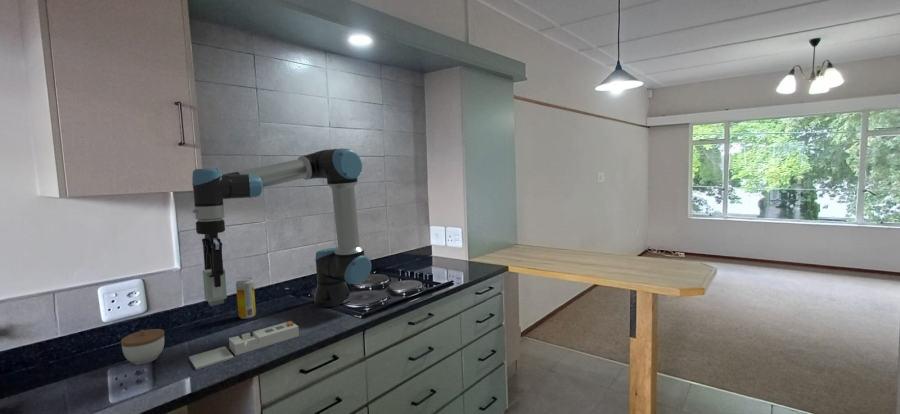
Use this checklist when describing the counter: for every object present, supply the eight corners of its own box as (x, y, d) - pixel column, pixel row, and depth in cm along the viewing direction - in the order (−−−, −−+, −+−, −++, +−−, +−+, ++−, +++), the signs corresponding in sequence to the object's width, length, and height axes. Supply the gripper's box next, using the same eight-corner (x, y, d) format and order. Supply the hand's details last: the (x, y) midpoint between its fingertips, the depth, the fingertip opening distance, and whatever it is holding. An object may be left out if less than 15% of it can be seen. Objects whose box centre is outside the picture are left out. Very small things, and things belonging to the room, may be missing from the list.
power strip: (291, 330, 145) (290, 318, 145) (299, 336, 140) (298, 324, 140) (229, 348, 132) (228, 335, 132) (235, 355, 127) (234, 342, 126)
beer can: (250, 312, 164) (248, 276, 163) (259, 315, 161) (256, 278, 159) (235, 317, 160) (232, 280, 158) (243, 320, 156) (240, 282, 154)
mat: (225, 348, 132) (224, 346, 132) (233, 358, 125) (233, 356, 125) (189, 358, 126) (189, 356, 126) (196, 369, 118) (195, 368, 118)
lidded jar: (118, 371, 119) (114, 340, 118) (129, 356, 129) (126, 327, 128) (162, 363, 123) (158, 333, 122) (170, 349, 133) (167, 321, 132)
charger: (223, 299, 129) (221, 267, 128) (227, 303, 125) (224, 269, 124) (205, 303, 125) (202, 270, 124) (208, 307, 122) (206, 272, 121)
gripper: (189, 218, 127) (195, 291, 129) (202, 223, 114) (208, 304, 116) (216, 216, 132) (221, 286, 134) (232, 220, 119) (237, 298, 121)
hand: (215, 294), depth 125 cm, fingers closed on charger, 4 cm apart
